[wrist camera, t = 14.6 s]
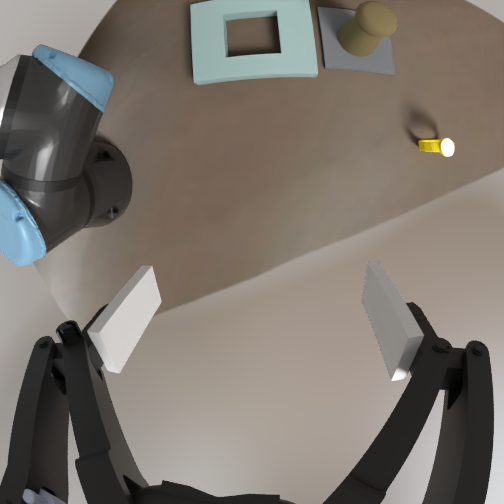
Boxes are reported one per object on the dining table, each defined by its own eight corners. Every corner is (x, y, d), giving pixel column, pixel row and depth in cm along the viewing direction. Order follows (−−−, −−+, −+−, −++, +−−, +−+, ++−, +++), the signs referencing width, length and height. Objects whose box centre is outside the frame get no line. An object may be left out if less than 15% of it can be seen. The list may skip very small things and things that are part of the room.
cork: (328, 36, 29) (345, 8, 19) (353, 17, 26) (374, -13, 16) (360, 64, 30) (386, 44, 20) (383, 43, 28) (413, 22, 18)
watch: (439, 134, 33) (461, 137, 28) (441, 151, 34) (463, 155, 29) (411, 136, 34) (432, 138, 28) (414, 153, 35) (434, 157, 30)
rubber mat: (325, 68, 31) (325, 67, 31) (317, 8, 27) (317, 6, 26) (393, 75, 30) (395, 75, 30) (384, 17, 26) (385, 15, 25)
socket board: (198, 85, 34) (193, 82, 32) (195, 10, 28) (190, 4, 26) (315, 77, 32) (318, 73, 30) (306, 0, 26) (307, -6, 24)
